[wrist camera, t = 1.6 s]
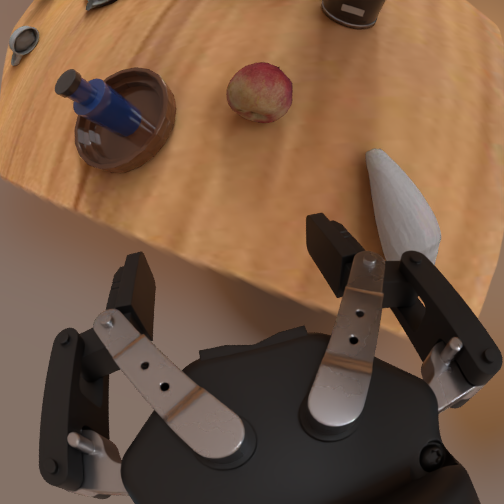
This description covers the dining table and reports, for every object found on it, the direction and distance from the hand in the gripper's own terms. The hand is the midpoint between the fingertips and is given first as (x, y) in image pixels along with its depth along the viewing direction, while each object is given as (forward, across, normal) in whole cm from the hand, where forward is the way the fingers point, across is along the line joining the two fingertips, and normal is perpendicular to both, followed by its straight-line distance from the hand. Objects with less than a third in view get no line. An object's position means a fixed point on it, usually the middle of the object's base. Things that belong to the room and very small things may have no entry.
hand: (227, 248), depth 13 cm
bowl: (+30, +10, -4) cm, 32 cm away
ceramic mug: (+57, +40, -34) cm, 78 cm away
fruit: (+26, -8, -3) cm, 27 cm away
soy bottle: (+30, +10, -5) cm, 32 cm away
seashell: (+14, -22, +10) cm, 28 cm away
